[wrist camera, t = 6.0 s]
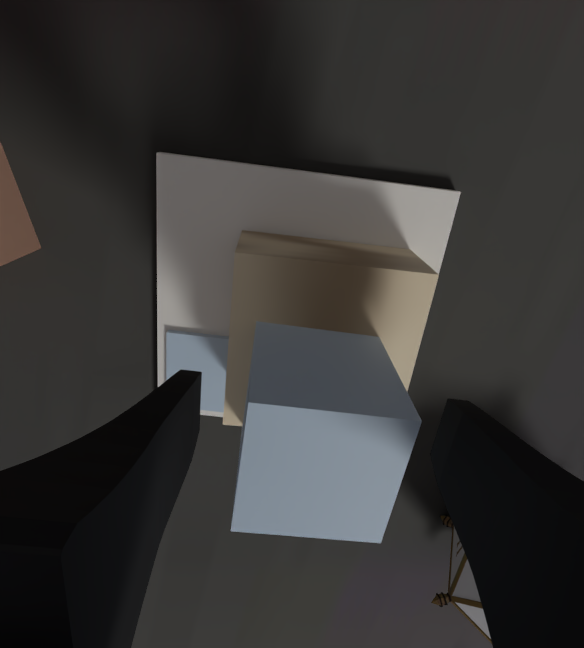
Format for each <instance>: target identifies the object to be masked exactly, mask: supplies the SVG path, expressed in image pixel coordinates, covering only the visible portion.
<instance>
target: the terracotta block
mask: <svg viewBox="0 0 584 648" xmlns="http://www.w3.org/2000/svg"><path fill="white" fill-rule="evenodd" d="M40 248H41V246H40V243H39V241H38V238H37V236H36V233H35V230H34V228H33V225H32V223H31V220H30V217H29V215H28V212H27V210H26V207H25V205H24V202H23V199H22V197H21V194H20V192H19V189H18V186H17V184H16V181H15V179H14V176H13V173H12V171H11V168H10V166H9V163H8V160H7V158H6V155H5V153H4V150H3V147H2V145H1V142H0V266H2V265H4V264H7V263H9V262H11V261H13V260H16V259H18V258H20V257H22V256H25V255H27V254H29V253H31V252H34V251H36V250H38V249H40Z"/></svg>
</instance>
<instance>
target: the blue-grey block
mask: <svg viewBox="0 0 584 648" xmlns="http://www.w3.org/2000/svg"><path fill="white" fill-rule="evenodd" d="M421 423H422V420H421V418H420V416H419V414H418V412H417V411H416V409H415V407H414V405H413V403H412V401H411V399H410V397H409V395H408V393H407V391H406V389H405V387H404V385H403V383H402V381H401V379H400V377H399V375H398V373H397V371H396V369H395V367H394V365H393V363H392V361H391V359H390V357H389V355H388V353H387V351H386V349H385V347H384V345H383V343H382V341H381V339H380V337H376V336H369V335H361V334H353V333H345V332H337V331H329V330H321V329H314V328H306V327H298V326H290V325H282V324H274V323H267V322H259V321H256V327H255V335H254V342H253V350H252V357H251V365H250V372H249V380H248V387H247V395H246V402H245V410H244V417H243V425H242V434H241V443H240V452H239V461H238V470H237V479H236V488H235V497H234V506H233V515H232V524H231V531H235V532H248V533H260V534H273V535H285V536H298V537H310V538H323V539H335V540H348V541H360V542H373V543H381V541H382V538H383V535H384V532H385V529H386V526H387V523H388V520H389V517H390V514H391V511H392V508H393V505H394V502H395V499H396V497H397V494H398V491H399V488H400V485H401V482H402V479H403V476H404V473H405V470H406V467H407V464H408V461H409V458H410V455H411V452H412V449H413V446H414V443H415V440H416V437H417V434H418V431H419V428H420V425H421Z"/></svg>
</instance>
